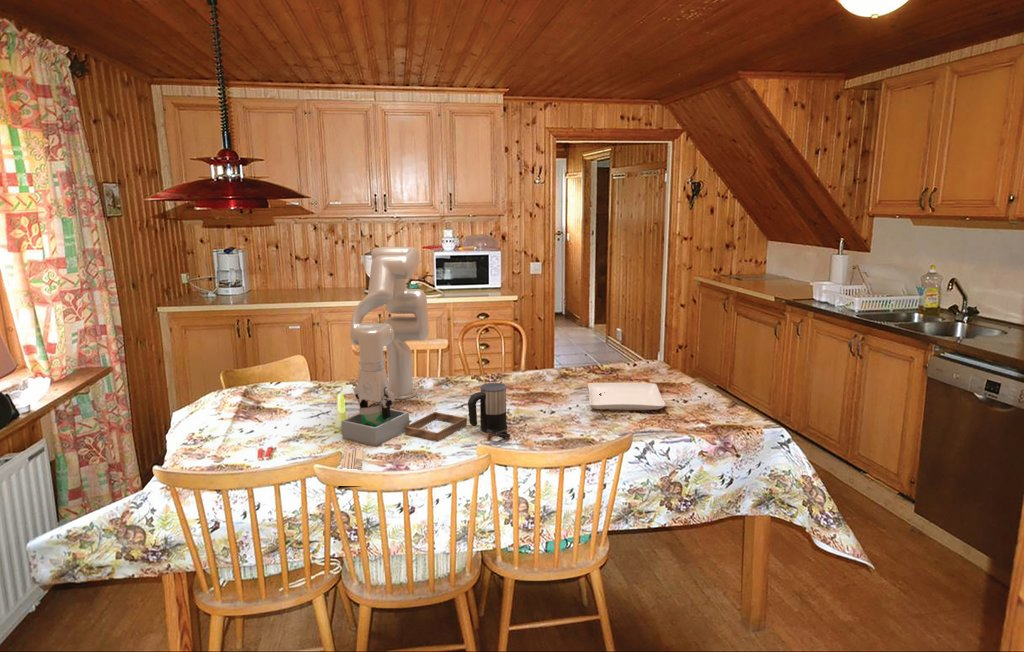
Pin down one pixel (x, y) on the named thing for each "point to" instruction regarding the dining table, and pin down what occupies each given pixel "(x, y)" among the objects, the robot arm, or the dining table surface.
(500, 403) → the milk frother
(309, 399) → the dining table surface
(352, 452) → the newspaper
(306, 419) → the dining table surface
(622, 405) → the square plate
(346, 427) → the grey bin
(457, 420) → the walnut frame
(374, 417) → the food container
